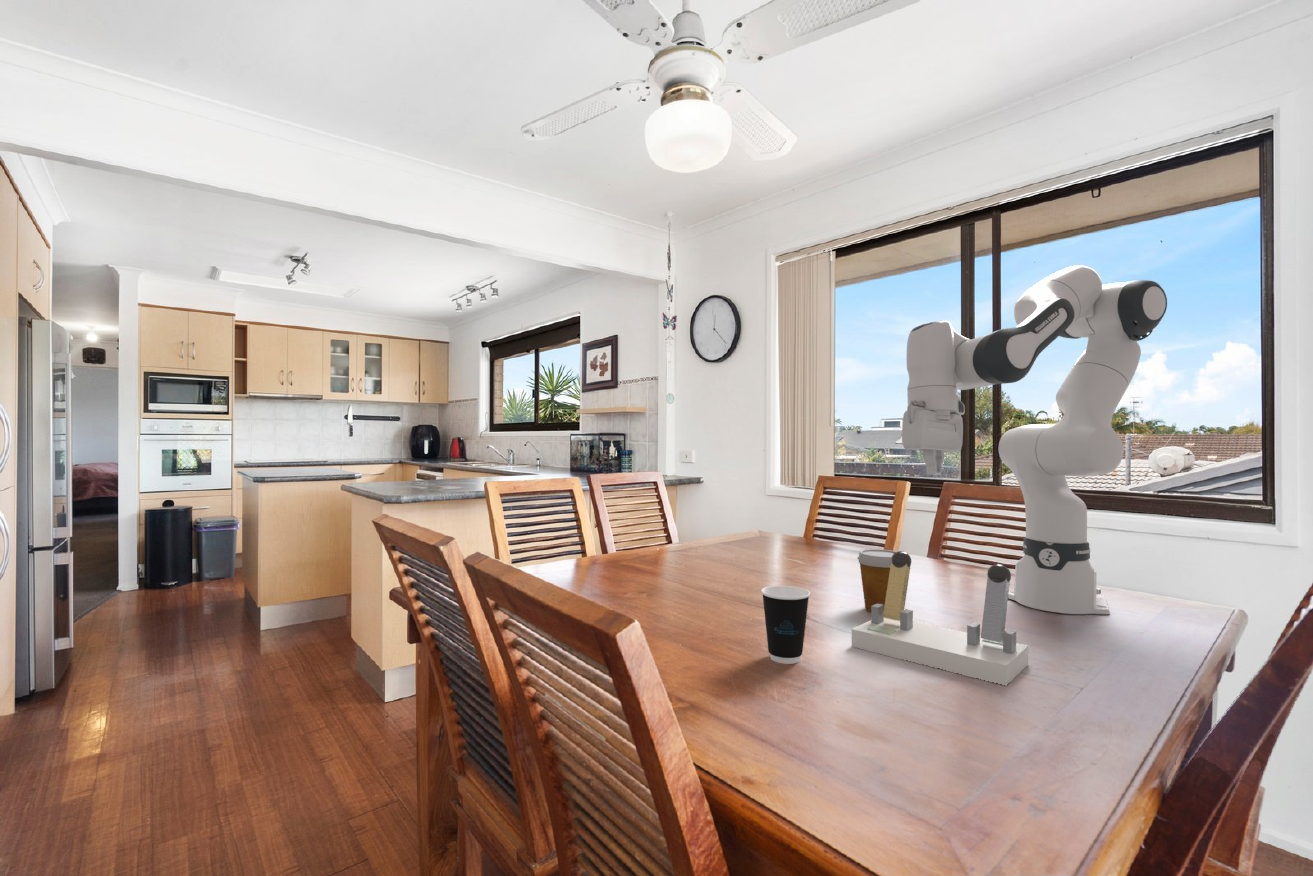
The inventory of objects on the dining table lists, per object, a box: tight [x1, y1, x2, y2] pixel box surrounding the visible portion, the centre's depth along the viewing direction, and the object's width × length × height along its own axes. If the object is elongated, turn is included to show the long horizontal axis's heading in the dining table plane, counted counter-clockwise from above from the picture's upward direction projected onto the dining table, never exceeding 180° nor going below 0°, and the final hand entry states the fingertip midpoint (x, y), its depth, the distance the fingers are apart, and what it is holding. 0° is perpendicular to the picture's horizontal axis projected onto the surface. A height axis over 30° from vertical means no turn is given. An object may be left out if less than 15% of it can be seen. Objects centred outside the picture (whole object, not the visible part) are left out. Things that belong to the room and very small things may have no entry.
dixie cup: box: [760, 585, 812, 665], centre depth 101 cm, size 8×8×11 cm
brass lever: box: [883, 550, 912, 621], centre depth 111 cm, size 3×3×12 cm
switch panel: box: [851, 604, 1029, 687], centre depth 103 cm, size 12×24×6 cm, turn 46°
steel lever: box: [980, 563, 1012, 643], centre depth 99 cm, size 3×3×12 cm
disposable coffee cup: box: [857, 548, 898, 613], centre depth 129 cm, size 10×10×12 cm
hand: (934, 474), depth 120 cm, fingers closed
